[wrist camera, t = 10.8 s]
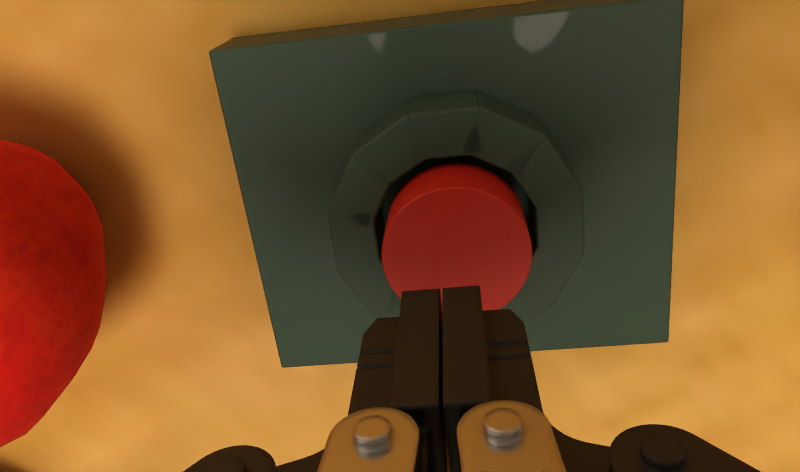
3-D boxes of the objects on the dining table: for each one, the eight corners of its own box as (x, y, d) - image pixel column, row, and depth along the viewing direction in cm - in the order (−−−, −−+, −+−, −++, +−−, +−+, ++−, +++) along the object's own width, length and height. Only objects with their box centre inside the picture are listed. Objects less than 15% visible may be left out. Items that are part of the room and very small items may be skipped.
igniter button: (521, 155, 17) (528, 180, 16) (528, 283, 19) (535, 316, 17) (378, 169, 17) (371, 194, 16) (396, 292, 19) (391, 327, 17)
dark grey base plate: (659, -14, 19) (710, 2, 15) (649, 305, 23) (687, 379, 19) (231, 37, 20) (183, 64, 16) (295, 330, 24) (268, 404, 20)
